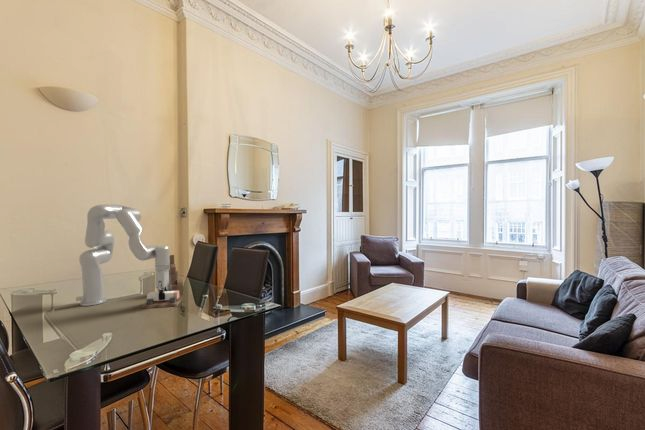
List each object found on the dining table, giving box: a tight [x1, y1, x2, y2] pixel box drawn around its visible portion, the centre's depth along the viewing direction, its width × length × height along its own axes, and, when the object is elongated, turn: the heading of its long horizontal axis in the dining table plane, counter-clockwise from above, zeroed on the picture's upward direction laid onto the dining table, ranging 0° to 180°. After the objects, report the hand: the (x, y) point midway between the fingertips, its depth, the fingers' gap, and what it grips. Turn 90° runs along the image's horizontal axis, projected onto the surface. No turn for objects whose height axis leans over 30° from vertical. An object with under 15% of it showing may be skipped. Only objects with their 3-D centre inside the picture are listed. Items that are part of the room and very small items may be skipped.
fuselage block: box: [146, 290, 179, 301], centre depth 178 cm, size 16×5×4 cm, turn 101°
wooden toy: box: [168, 254, 184, 295], centre depth 201 cm, size 15×7×25 cm, turn 38°
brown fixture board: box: [141, 293, 184, 310], centre depth 178 cm, size 18×14×4 cm
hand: (163, 298), depth 178 cm, fingers closed on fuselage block, 4 cm apart
